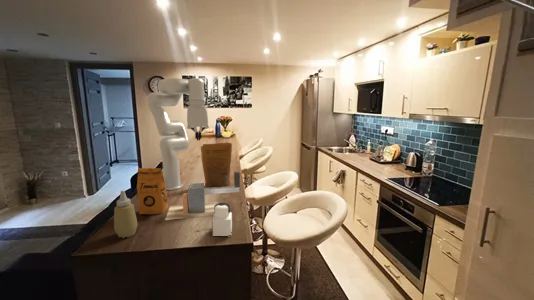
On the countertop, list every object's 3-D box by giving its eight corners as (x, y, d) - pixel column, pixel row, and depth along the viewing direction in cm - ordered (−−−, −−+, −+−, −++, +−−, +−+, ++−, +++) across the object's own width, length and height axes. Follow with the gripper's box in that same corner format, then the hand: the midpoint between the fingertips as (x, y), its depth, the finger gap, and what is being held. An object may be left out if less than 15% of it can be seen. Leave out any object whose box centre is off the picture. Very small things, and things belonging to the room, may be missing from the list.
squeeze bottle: (114, 242, 92) (109, 196, 89) (115, 232, 99) (111, 189, 96) (138, 237, 95) (134, 192, 92) (138, 228, 102) (134, 186, 99)
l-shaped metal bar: (197, 193, 118) (196, 174, 117) (239, 190, 123) (238, 171, 122) (197, 195, 116) (196, 175, 114) (239, 191, 121) (239, 172, 119)
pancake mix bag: (233, 186, 156) (232, 143, 151) (202, 188, 153) (200, 143, 148) (232, 183, 163) (231, 141, 158) (203, 184, 159) (201, 142, 155)
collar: (184, 207, 121) (183, 193, 119) (188, 207, 121) (188, 193, 120) (183, 214, 114) (182, 198, 112) (187, 213, 114) (187, 198, 113)
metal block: (190, 207, 122) (189, 183, 119) (204, 205, 123) (204, 182, 121) (189, 213, 114) (188, 189, 112) (204, 212, 116) (203, 188, 113)
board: (170, 207, 123) (170, 205, 123) (218, 203, 129) (218, 201, 129) (165, 222, 108) (165, 219, 108) (220, 216, 114) (220, 214, 113)
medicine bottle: (214, 228, 102) (213, 201, 100) (232, 227, 103) (231, 200, 101) (212, 237, 95) (211, 208, 93) (231, 236, 96) (230, 207, 94)
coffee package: (162, 217, 113) (159, 170, 109) (136, 216, 113) (131, 170, 109) (171, 208, 123) (168, 165, 119) (146, 208, 123) (143, 165, 119)
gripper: (180, 103, 118) (182, 141, 121) (212, 104, 122) (213, 140, 125) (182, 104, 125) (184, 139, 129) (212, 104, 129) (213, 138, 132)
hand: (198, 140), depth 127 cm, fingers closed
